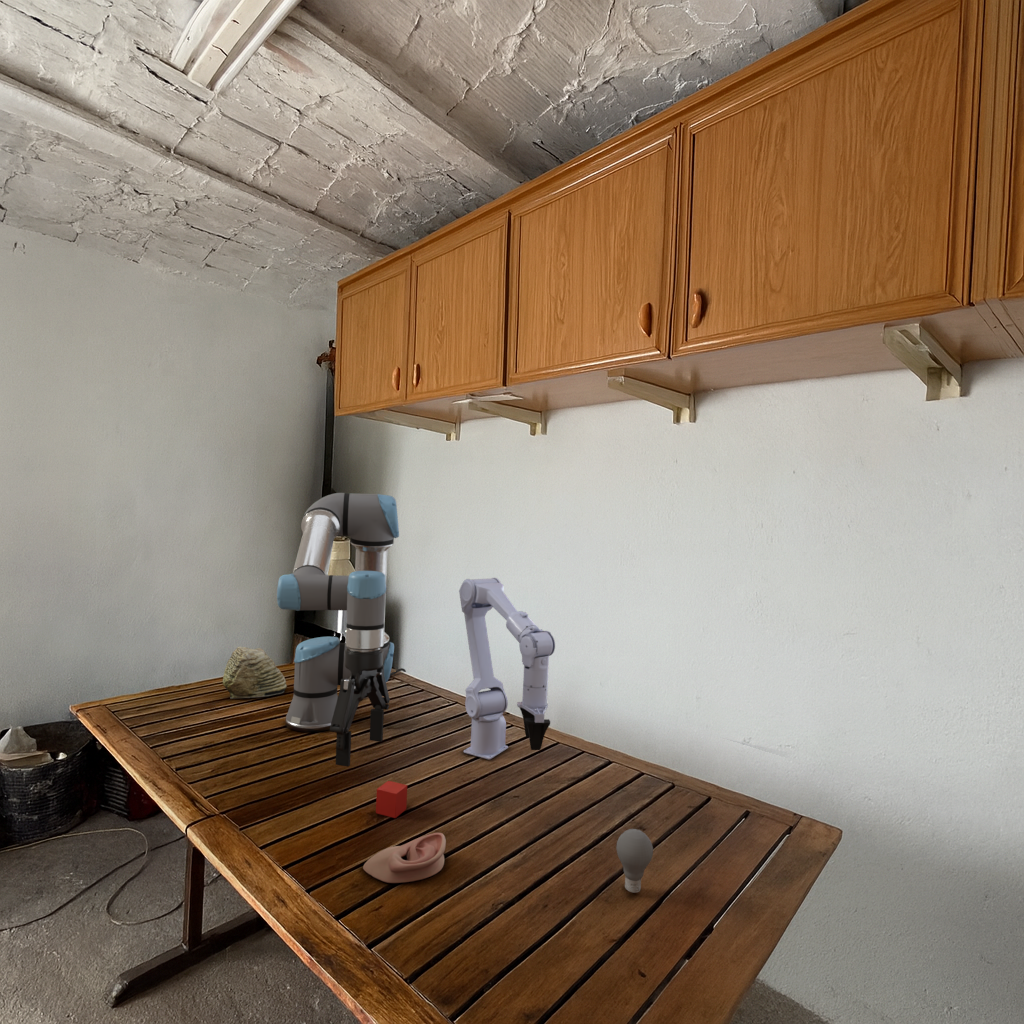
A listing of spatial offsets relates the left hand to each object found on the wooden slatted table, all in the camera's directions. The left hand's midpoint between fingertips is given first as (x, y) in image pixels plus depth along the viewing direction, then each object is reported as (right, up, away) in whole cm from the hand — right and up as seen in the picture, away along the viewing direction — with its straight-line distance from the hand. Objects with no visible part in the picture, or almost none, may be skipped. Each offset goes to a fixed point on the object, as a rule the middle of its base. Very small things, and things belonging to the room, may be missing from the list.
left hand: (360, 752), depth 129 cm
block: (+6, -12, 0) cm, 14 cm away
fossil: (-50, -8, +69) cm, 86 cm away
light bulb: (+51, -15, -23) cm, 58 cm away
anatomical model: (+12, -13, -18) cm, 26 cm away
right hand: (+36, -5, +18) cm, 40 cm away
